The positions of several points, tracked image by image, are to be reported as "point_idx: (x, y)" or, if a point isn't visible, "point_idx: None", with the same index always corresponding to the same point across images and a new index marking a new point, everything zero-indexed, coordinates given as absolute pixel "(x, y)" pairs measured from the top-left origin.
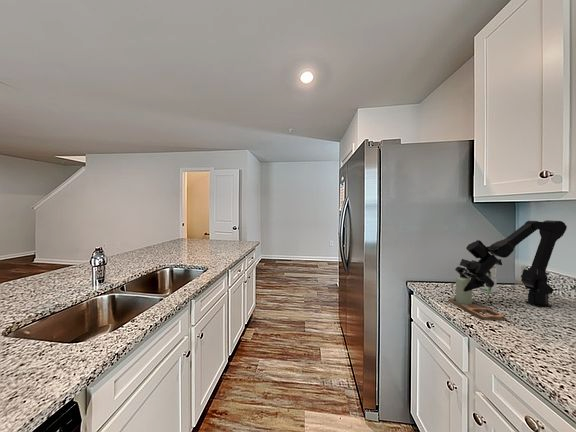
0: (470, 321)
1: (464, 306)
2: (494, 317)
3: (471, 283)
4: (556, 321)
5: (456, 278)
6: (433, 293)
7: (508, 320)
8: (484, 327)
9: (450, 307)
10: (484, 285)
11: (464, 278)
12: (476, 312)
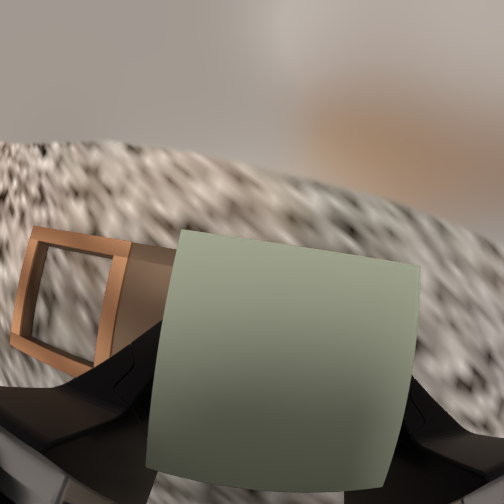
0: (59, 171)
1: (171, 263)
2: (20, 290)
3: (99, 370)
4: None
5: (391, 264)
6: (480, 291)
7: (16, 353)
8: (17, 185)
9: (229, 202)
10: None
11: (318, 426)
12: (70, 243)
